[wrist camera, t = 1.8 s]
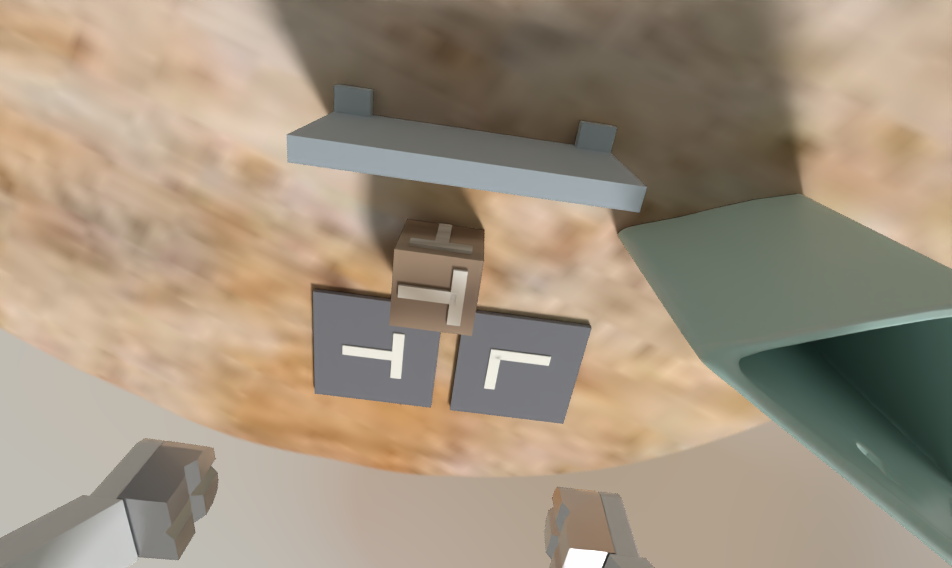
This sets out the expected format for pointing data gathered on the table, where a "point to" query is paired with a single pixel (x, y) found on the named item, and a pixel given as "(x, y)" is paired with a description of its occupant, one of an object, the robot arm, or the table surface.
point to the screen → (467, 155)
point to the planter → (822, 340)
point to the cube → (436, 277)
